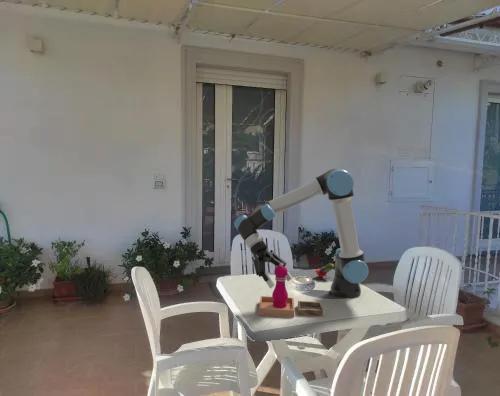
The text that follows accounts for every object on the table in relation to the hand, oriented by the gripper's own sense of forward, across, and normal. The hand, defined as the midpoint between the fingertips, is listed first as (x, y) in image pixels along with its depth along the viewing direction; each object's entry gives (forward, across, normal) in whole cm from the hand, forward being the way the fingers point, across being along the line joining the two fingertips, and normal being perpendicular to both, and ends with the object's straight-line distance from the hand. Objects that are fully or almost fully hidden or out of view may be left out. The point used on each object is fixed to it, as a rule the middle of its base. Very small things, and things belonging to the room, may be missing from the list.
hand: (281, 283), depth 177 cm
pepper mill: (+7, +3, +10) cm, 12 cm away
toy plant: (+2, +58, +17) cm, 60 cm away
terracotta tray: (+7, 0, +11) cm, 13 cm away
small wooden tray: (+16, +9, +2) cm, 18 cm away
